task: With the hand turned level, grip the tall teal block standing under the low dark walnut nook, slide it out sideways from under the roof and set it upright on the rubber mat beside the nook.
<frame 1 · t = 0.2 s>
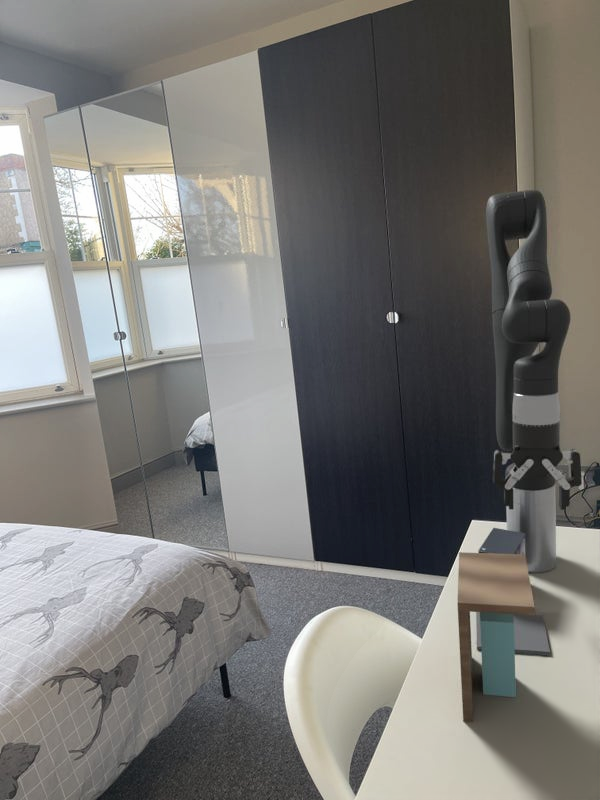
hand: (536, 508, 106), 18 cm above the table, tool pointing down, fingers open, 8 cm apart
small box: (503, 593, 113), on the table
teal block: (498, 685, 89), on the table
walnut nook: (499, 689, 88), on the table
rubber mat: (510, 633, 101), on the table
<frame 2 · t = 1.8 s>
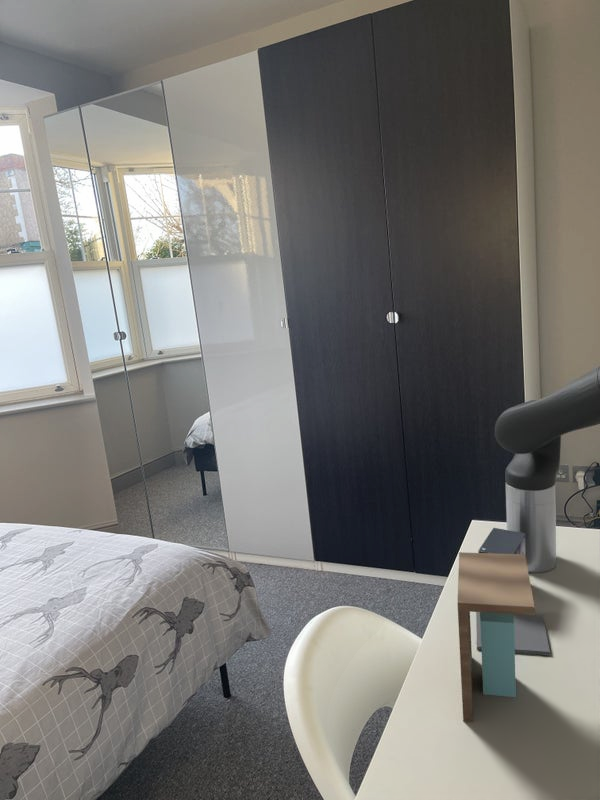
nothing on the table moved.
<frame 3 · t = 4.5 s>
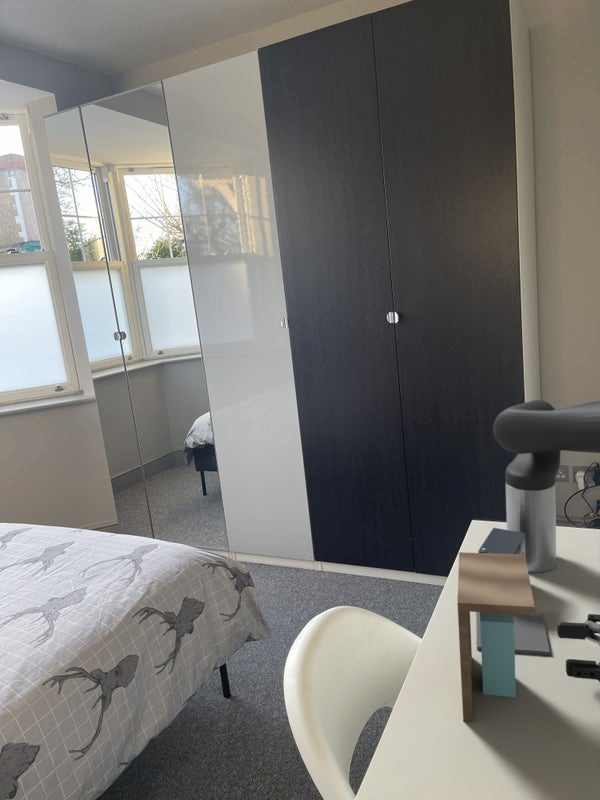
hand: (561, 647, 85), 7 cm above the table, tool horizontal, fingers open, 8 cm apart
nothing on the table moved.
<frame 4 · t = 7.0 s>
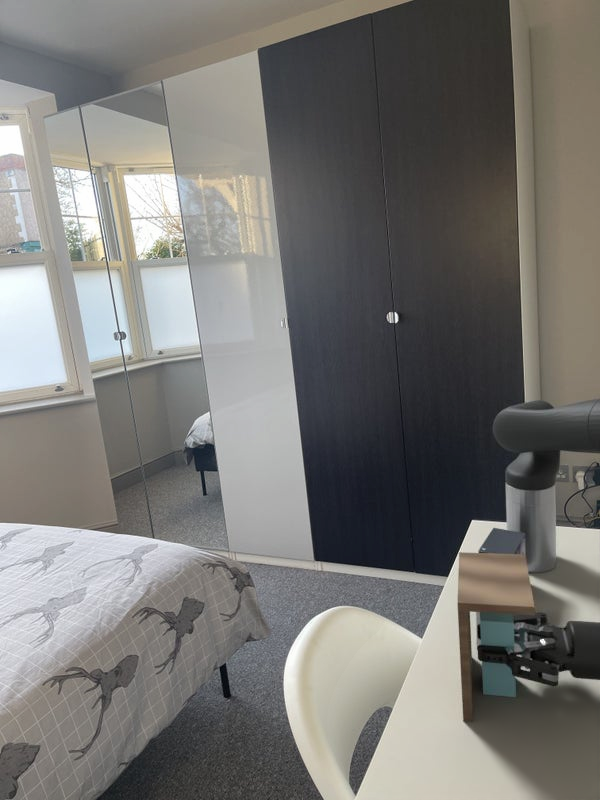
hand: (478, 642, 88), 7 cm above the table, tool horizontal, fingers closed on teal block, 4 cm apart
teal block: (498, 685, 89), on the table, touching gripper
everything else where it was.
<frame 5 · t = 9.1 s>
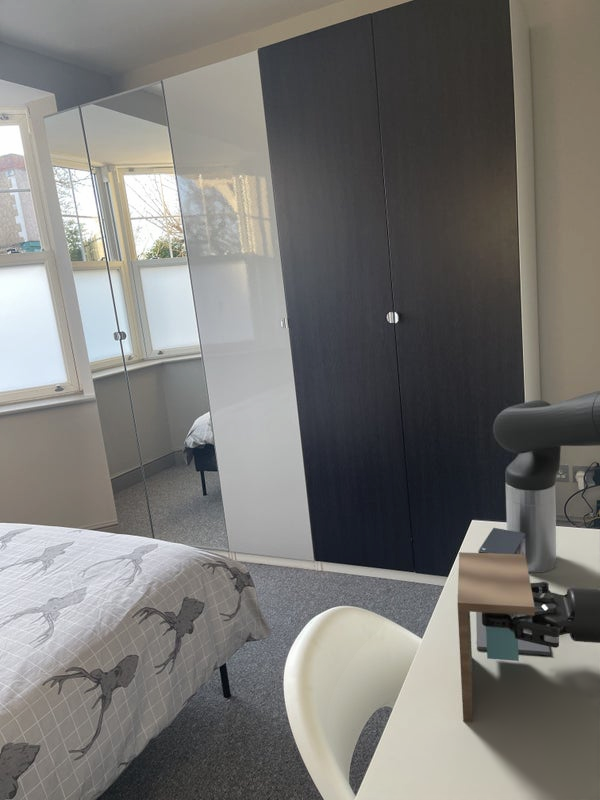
hand: (482, 608, 93), 9 cm above the table, tool horizontal, fingers closed on teal block, 4 cm apart
teal block: (502, 650, 93), point 2 cm above the table, touching gripper
everything else where it was.
when the fingers open (8 cm above the table, at t = 11.3 s): teal block stays where it is, resting on rubber mat.
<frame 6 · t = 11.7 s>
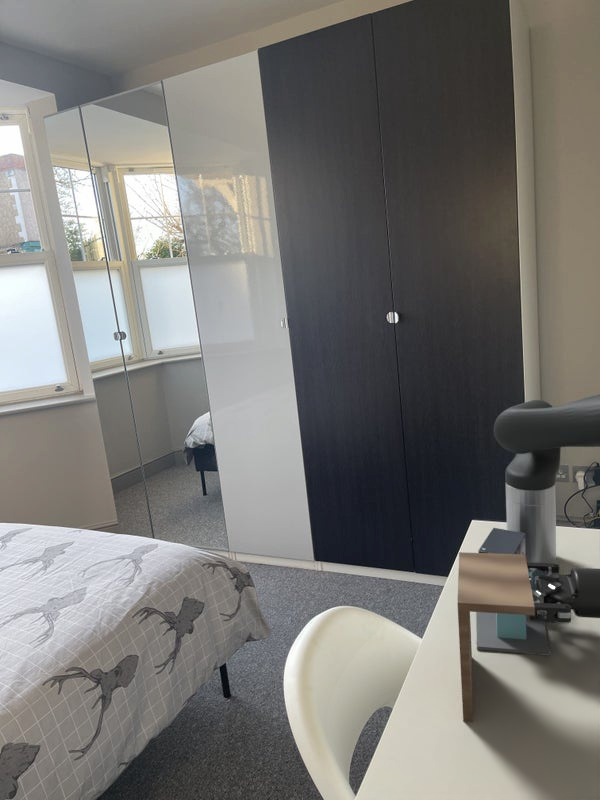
hand: (496, 588, 100), 8 cm above the table, tool horizontal, fingers open, 8 cm apart
teal block: (510, 630, 101), point 1 cm above the table, touching rubber mat
everything else where it was.
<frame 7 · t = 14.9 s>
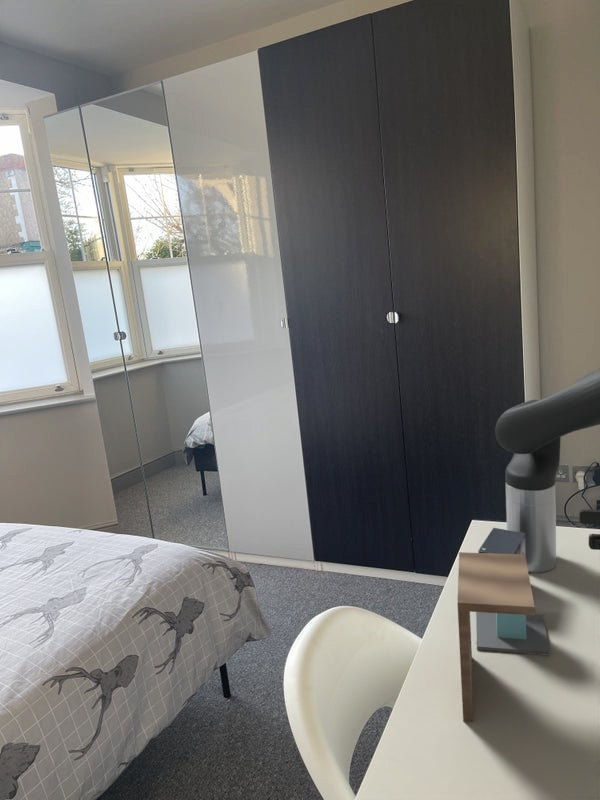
hand: (584, 528, 94), 19 cm above the table, tool horizontal, fingers open, 8 cm apart
nothing on the table moved.
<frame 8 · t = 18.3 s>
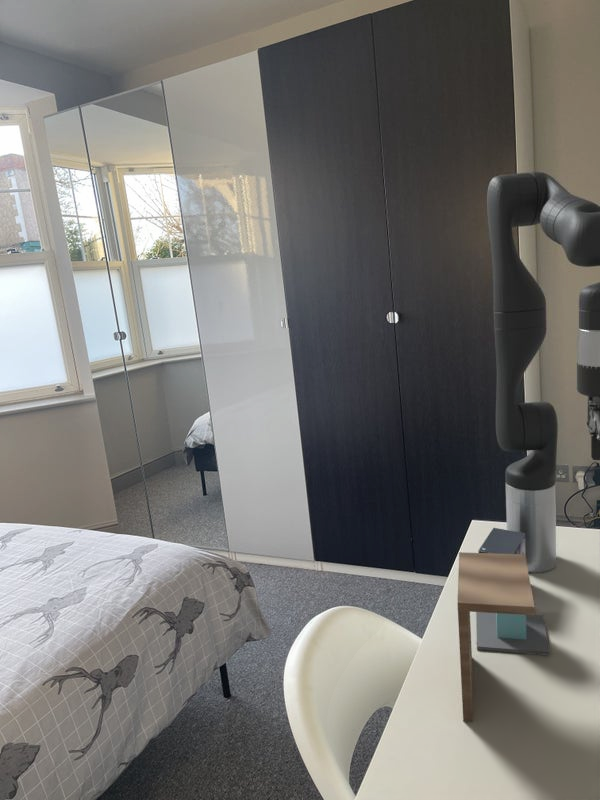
nothing on the table moved.
at the end: teal block inside the target area on the rubber mat (0.1 cm from its centre), point 0.6 cm above the rubber mat's base; teal block tilted 0°; the gripper is holding nothing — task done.
